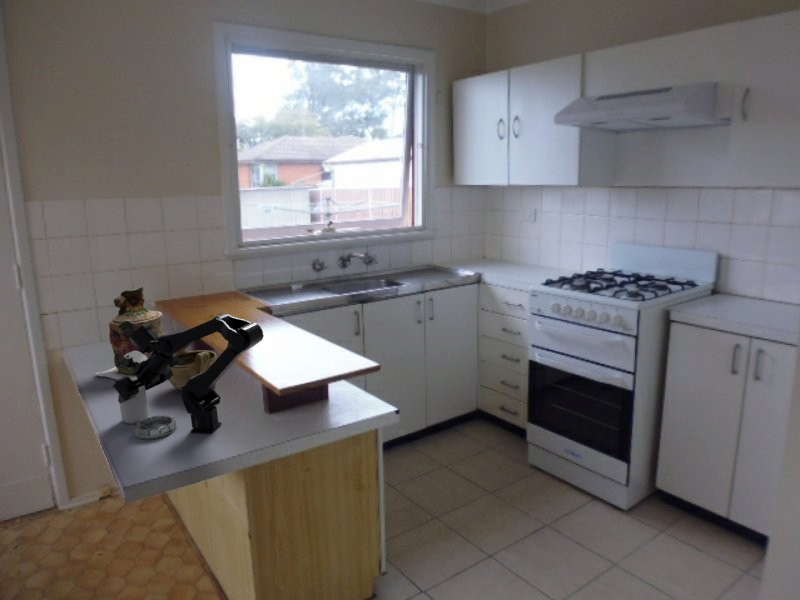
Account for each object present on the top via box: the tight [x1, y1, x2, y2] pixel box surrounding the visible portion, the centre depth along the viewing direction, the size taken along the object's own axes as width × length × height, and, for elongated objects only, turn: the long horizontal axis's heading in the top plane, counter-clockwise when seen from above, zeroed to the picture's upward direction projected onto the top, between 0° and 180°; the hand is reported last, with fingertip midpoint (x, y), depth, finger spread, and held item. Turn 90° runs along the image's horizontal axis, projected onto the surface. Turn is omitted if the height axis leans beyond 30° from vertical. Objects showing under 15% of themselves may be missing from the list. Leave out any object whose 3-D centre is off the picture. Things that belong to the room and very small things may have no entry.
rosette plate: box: [134, 414, 177, 441], centre depth 172 cm, size 11×11×2 cm
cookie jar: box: [94, 286, 166, 380], centre depth 221 cm, size 25×25×32 cm
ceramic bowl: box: [167, 348, 218, 391], centre depth 203 cm, size 22×17×15 cm
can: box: [117, 379, 150, 425], centre depth 179 cm, size 8×8×12 cm
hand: (131, 396), depth 179 cm, fingers open, 9 cm apart
